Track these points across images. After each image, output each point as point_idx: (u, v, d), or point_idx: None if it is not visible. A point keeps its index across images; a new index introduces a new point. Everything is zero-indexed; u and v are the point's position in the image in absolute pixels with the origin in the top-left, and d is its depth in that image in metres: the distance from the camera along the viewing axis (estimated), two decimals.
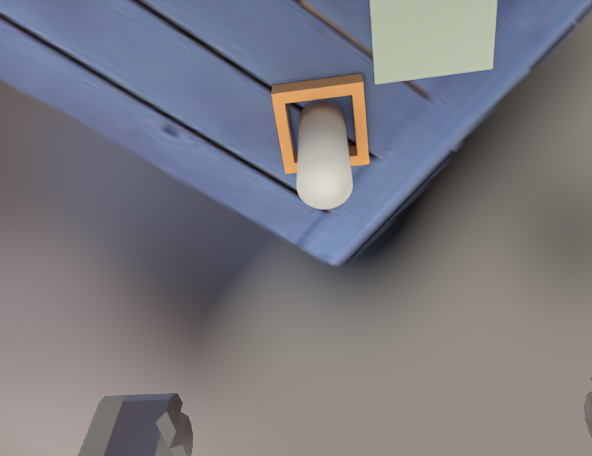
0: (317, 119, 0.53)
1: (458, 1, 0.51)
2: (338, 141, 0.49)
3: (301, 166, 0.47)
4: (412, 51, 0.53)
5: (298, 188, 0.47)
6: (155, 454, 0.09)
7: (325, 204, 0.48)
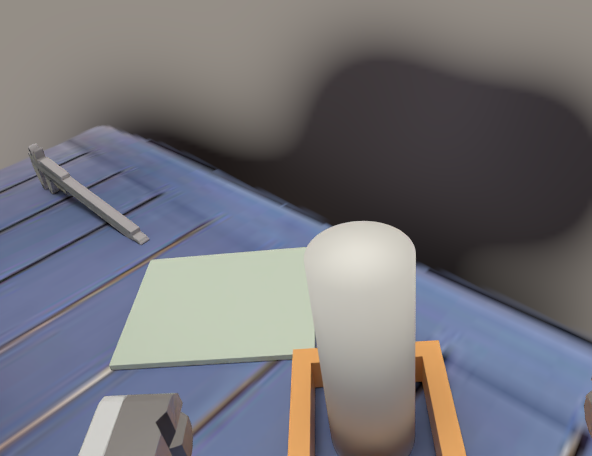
0: None
1: (231, 280, 0.44)
2: None
3: (324, 301, 0.23)
4: (275, 315, 0.40)
5: (361, 289, 0.22)
6: (155, 454, 0.09)
7: (402, 251, 0.24)
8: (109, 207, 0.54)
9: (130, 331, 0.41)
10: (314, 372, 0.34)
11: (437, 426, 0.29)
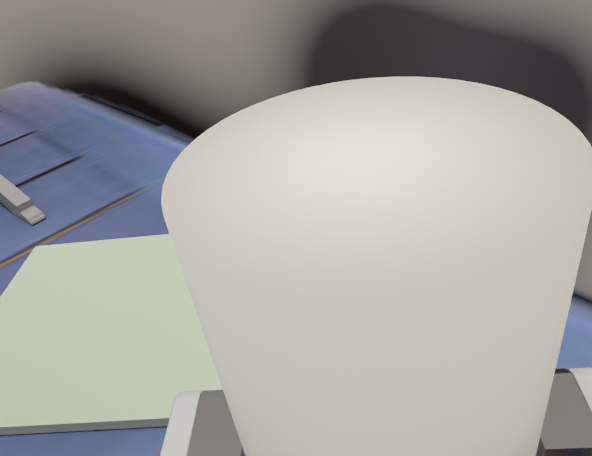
0: None
1: (151, 277, 0.27)
2: None
3: (228, 334, 0.06)
4: None
5: (382, 283, 0.05)
6: (241, 450, 0.09)
7: (531, 140, 0.06)
8: None
9: None
10: None
11: None
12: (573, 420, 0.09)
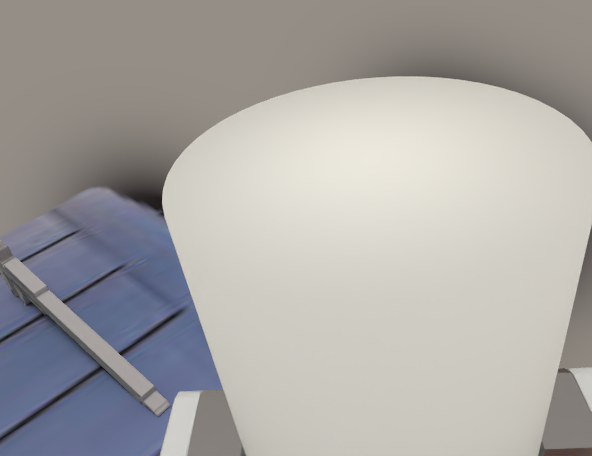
0: None
1: None
2: None
3: (229, 334, 0.06)
4: None
5: (385, 284, 0.05)
6: (241, 450, 0.09)
7: (535, 139, 0.06)
8: (107, 347, 0.35)
9: None
10: None
11: None
12: (573, 420, 0.09)
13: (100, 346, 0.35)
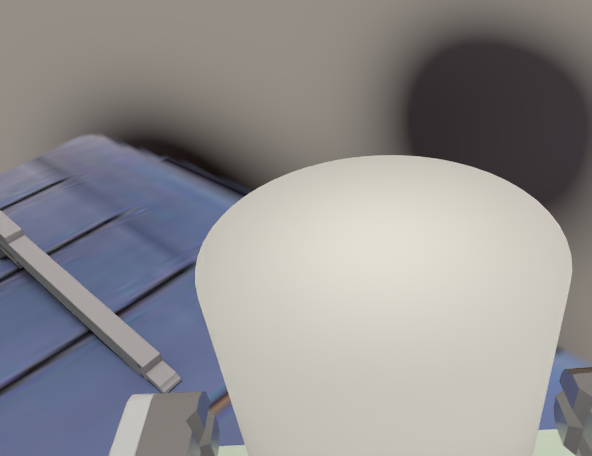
0: None
1: None
2: None
3: (255, 404, 0.07)
4: None
5: (389, 377, 0.06)
6: (187, 453, 0.09)
7: (517, 233, 0.07)
8: (97, 304, 0.27)
9: None
10: None
11: None
12: None
13: (89, 303, 0.27)
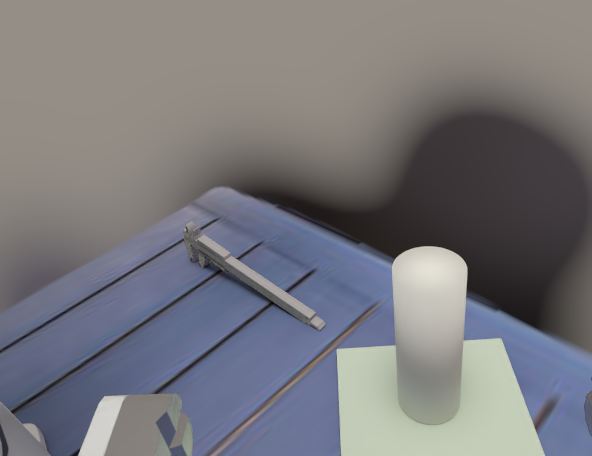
0: (397, 361, 0.41)
1: None
2: None
3: (409, 299, 0.36)
4: (491, 418, 0.42)
5: (435, 291, 0.34)
6: (155, 454, 0.09)
7: (457, 266, 0.36)
8: (280, 290, 0.55)
9: (349, 432, 0.43)
10: None
11: None
12: None
13: (275, 289, 0.55)
